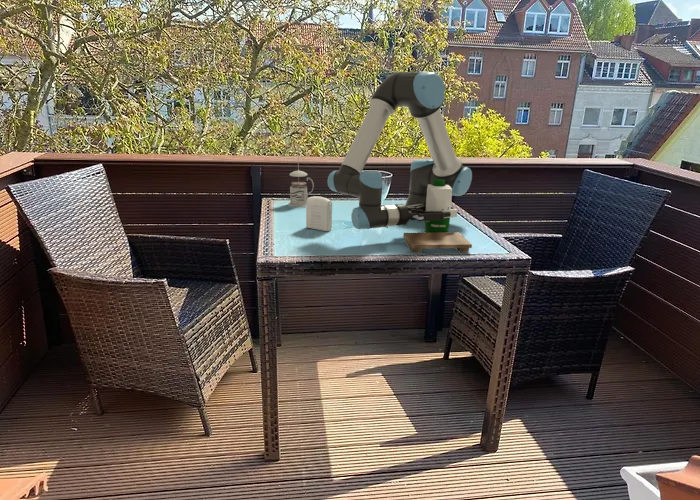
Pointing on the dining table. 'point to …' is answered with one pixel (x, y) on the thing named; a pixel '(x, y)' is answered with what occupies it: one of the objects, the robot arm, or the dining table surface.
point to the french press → (299, 188)
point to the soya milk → (438, 205)
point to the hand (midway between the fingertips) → (449, 210)
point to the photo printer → (319, 213)
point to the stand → (436, 241)
